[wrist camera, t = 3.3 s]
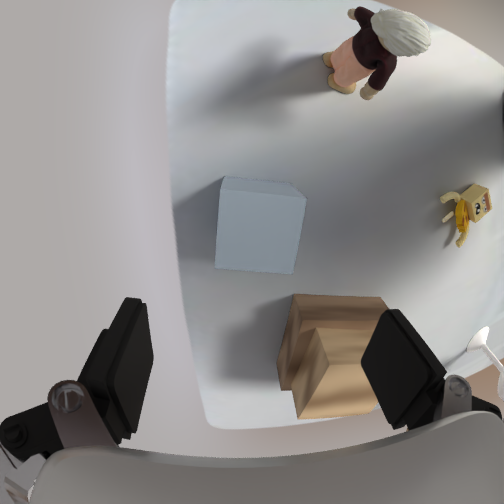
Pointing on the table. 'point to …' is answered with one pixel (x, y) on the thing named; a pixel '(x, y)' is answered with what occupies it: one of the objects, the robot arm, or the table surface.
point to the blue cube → (258, 225)
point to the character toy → (468, 208)
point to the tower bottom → (321, 325)
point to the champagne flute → (479, 343)
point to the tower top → (333, 376)
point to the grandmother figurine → (375, 49)
